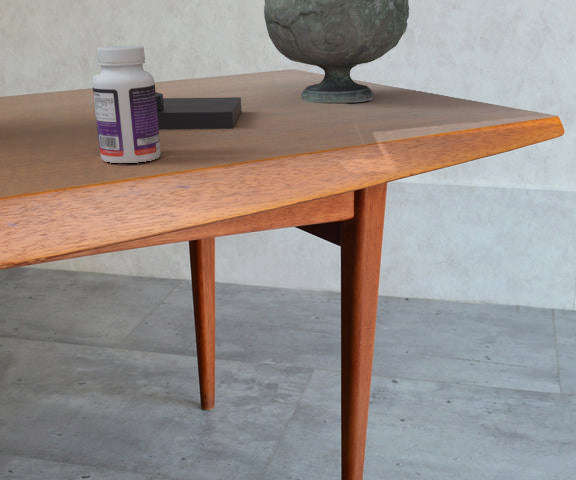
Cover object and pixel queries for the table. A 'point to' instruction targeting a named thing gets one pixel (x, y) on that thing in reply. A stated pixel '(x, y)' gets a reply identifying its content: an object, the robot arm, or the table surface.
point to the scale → (197, 112)
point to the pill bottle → (125, 106)
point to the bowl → (335, 39)
